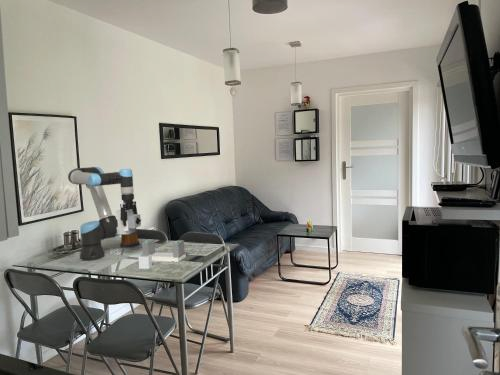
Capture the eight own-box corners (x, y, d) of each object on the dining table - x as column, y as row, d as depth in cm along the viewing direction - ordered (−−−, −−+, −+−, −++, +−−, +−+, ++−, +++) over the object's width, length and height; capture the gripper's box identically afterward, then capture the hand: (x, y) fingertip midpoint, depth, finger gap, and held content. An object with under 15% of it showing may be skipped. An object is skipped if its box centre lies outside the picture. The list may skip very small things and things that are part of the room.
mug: (126, 242, 292) (124, 216, 290) (144, 241, 292) (143, 215, 290) (116, 248, 273) (114, 221, 271) (136, 247, 272) (134, 220, 271)
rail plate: (142, 260, 241) (140, 241, 239) (151, 255, 251) (149, 237, 250) (178, 261, 234) (176, 242, 233) (185, 256, 244) (184, 238, 243)
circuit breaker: (138, 234, 236) (136, 210, 234) (117, 234, 239) (115, 210, 237) (143, 231, 243) (142, 208, 242) (123, 231, 246) (121, 208, 245)
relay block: (139, 268, 223) (138, 256, 222) (142, 266, 228) (141, 253, 227) (149, 268, 222) (148, 255, 222) (152, 266, 227) (151, 253, 227)
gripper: (122, 195, 228) (125, 233, 230) (141, 191, 247) (144, 226, 249) (111, 195, 230) (115, 232, 232) (131, 191, 249) (134, 226, 252)
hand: (130, 229), depth 241 cm, fingers closed on circuit breaker, 8 cm apart
